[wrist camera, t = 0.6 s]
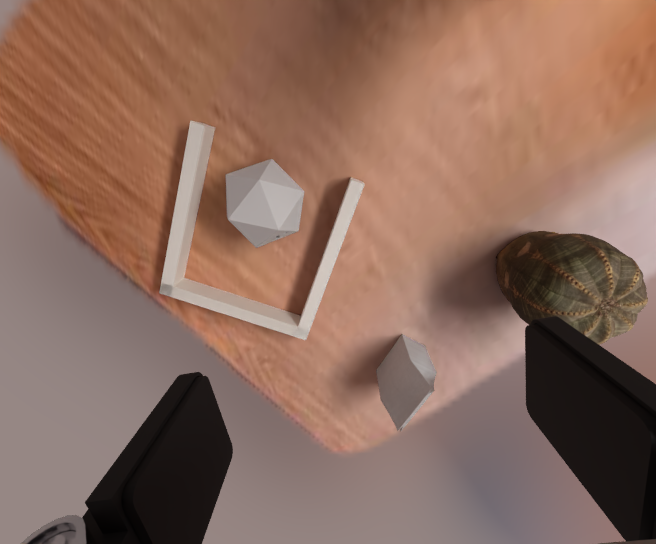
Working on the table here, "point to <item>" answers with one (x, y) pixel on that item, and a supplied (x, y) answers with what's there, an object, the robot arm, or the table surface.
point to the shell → (572, 282)
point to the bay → (223, 300)
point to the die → (263, 202)
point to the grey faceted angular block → (405, 379)
